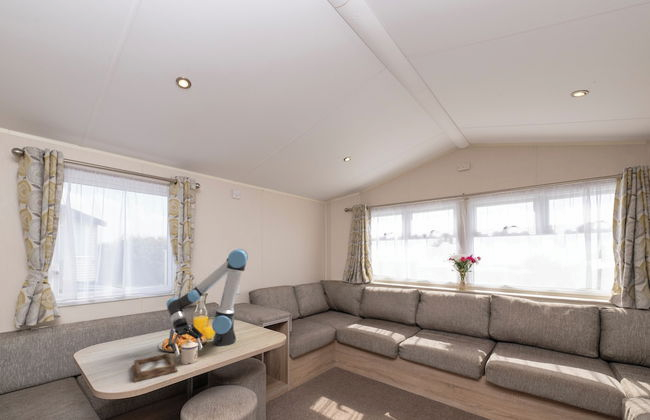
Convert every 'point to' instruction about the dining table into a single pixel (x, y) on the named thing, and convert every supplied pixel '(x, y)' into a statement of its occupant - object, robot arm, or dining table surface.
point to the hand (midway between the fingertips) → (190, 352)
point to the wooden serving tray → (153, 367)
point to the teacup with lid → (189, 352)
